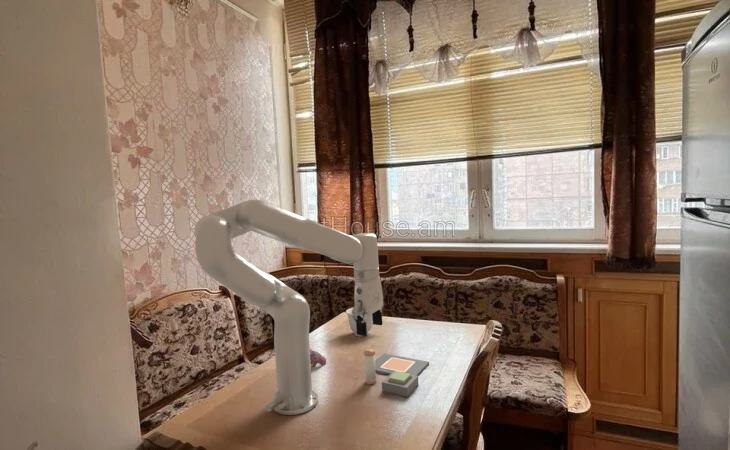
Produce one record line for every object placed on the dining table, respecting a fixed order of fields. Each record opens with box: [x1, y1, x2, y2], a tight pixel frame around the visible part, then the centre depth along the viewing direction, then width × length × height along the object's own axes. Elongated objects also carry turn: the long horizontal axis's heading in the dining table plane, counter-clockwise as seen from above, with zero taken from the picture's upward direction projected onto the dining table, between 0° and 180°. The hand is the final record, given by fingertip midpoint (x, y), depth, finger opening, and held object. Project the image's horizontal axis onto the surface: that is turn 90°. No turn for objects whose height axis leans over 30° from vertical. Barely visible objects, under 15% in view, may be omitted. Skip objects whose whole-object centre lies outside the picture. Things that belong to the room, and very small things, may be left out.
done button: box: [389, 371, 411, 385], centre depth 116 cm, size 5×5×2 cm
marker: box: [363, 347, 377, 386], centre depth 121 cm, size 3×3×10 cm
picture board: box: [375, 353, 430, 377], centre depth 131 cm, size 13×17×1 cm
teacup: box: [345, 307, 374, 338], centre depth 163 cm, size 12×15×10 cm
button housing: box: [381, 371, 419, 399], centre depth 116 cm, size 8×8×3 cm
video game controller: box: [310, 348, 327, 367], centre depth 135 cm, size 10×5×7 cm, turn 63°
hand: (370, 329), depth 120 cm, fingers open, 9 cm apart
